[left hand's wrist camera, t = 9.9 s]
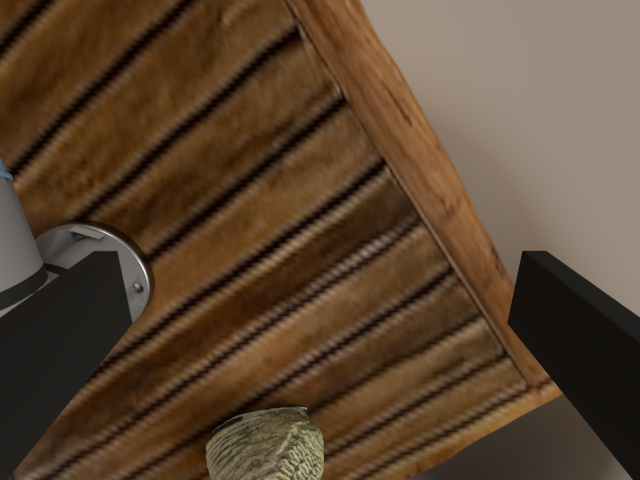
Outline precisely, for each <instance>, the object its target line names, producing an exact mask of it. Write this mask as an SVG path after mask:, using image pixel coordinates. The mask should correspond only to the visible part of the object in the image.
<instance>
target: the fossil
mask: <svg viewBox="0 0 640 480" xmlns="http://www.w3.org/2000/svg"><path fill="white" fill-rule="evenodd" d="M323 446H324V445H323V437H322V432H321V431H320V429H319V428H318V427H317V426H316V425H314V424H313V423H312V422H311V420H309V417H308V414H307V408H305V407H287V408H274V409H270V410H259V411H255V412H250V413H246V414H242V415H239V416H236V417H233V418H232V419H230V420H228V421H226V422H225V423H224V424H223V425H220V426H218V427H217V428H216V429H215V430H214V431H213V432H212V436H211V438H210V440H209V441H208V442H207V443H206V451H207V454H206V460H207V467H208V470H209V474H210V477H211V479H212V480H321V479H320V478H321V475H322V473H323V468H324V467H323V464H324V463H323V460H324V452H323Z"/></svg>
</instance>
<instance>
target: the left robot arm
mask: <svg viewBox="0 0 640 480" xmlns="http://www.w3.org/2000/svg"><path fill="white" fill-rule="evenodd" d="M12 181H13V177H12V175H11V174H10V173H8V172H7V171H6V169H5V167H4V164H3V162H2V160H1V158H0V480H14V477H13V474H12V473H13V472H14V470H15V469H16V468H17V467H18V466H19V464H20V463H21V462H22V461H23V459H24V458H25V457H26V456H27V454H28V453H29V452H30V451H31V449H32V448H33V447H34V446H35V444H36V443H37V442H38V441H39V439H40V438H41V437H42V436H43V434H44V433H45V432H46V431H47V429H48V428H49V427H50V426H51V424H52V423H53V422H54V421H55V419H56V418H57V417H58V416H59V414H60V413H61V412H62V411H63V409H64V408H65V407H66V406H67V405H68V403H69V402H70V401H71V400H72V398H73V397H74V396H75V395H76V393H77V392H78V391H79V390H80V388H81V387H82V386H83V385H84V383H85V382H86V381H87V380H88V378H89V377H90V376H91V375H92V373H93V372H94V371H95V370H96V368H97V367H98V366H99V365H100V363H101V362H102V361H103V360H104V358H105V357H106V356H107V355H108V353H109V352H110V351H111V350H112V348H113V347H114V346H115V345H116V343H117V342H118V341H119V340H120V339H121V337H122V336H123V335H124V334H125V332H126V331H127V330H128V329H129V327H130V326H131V325H132V324H133V323H134V322H135V321H136V320H137V319H138V318H139V317H140V316H141V315H142V313H143V312H144V311H145V310H146V308H147V307H148V305H149V304H150V302H151V300H152V297H153V293H154V275H153V271H152V268H151V265H150V263H149V261H148V259H147V257H146V256H145V254H144V253H143V251H142V250H141V249H140V247H139V246H138V245H137V244H136V243H135V242H134V241H133V240H132V239H130V238H129V237H128V236H126V235H125V234H124V233H122V232H120V231H119V230H117V229H115V228H113V227H111V226H108V225H106V224H102V223H99V222H94V221H85V220H79V221H70V222H66V223H63V224H60V225H58V226H56V227H54V228H52V229H50V230H48V231H46V232H44V233H43V234H41V235H40V236H39V237H38V238H36V239H34V237H33V234H32V232H31V229H30V227H29V224H28V222H27V219H26V217H25V214H24V211H23V209H22V206H21V204H20V201H19V199H18V196H17V194H16V191H15V188H14V186H13V183H12ZM507 324H508V325H509V326H510V327H511V329H512V330H513V331H514V332H515V334H516V335H517V336H518V337H519V339H520V340H521V341H522V342H523V344H524V345H525V346H526V347H527V348H528V350H529V351H530V352H531V353H532V355H533V356H534V357H535V358H536V360H537V361H538V362H539V363H540V365H541V366H542V367H543V368H544V370H545V371H546V372H547V373H548V375H549V376H550V377H551V378H552V380H553V381H554V382H555V383H556V385H557V386H558V387H559V388H560V390H561V391H562V392H563V393H564V395H565V396H566V397H567V398H568V400H569V401H570V402H571V403H572V405H573V406H574V407H575V408H576V409H577V411H578V412H579V413H580V414H581V416H582V417H583V418H584V419H585V421H586V422H587V423H588V424H589V426H590V427H591V428H592V429H593V431H594V432H595V433H596V434H597V436H598V437H599V438H600V439H601V441H602V442H603V443H604V444H605V446H606V447H607V448H608V449H609V451H610V452H611V453H612V454H613V456H614V457H615V458H616V459H617V461H618V462H619V463H620V464H621V466H622V467H623V468H624V469H625V470H626V472H627V473H628V474H629V475H630V477H631V478H632V479H633V480H640V317H638V316H637V315H636V314H634V313H633V312H631V311H630V310H629V309H627V308H626V307H624V306H623V305H621V304H620V303H619V302H617V301H616V300H615V299H613V298H612V297H610V296H609V295H607V294H606V293H605V292H603V291H602V290H600V289H599V288H598V287H596V286H595V285H593V284H592V283H591V282H589V281H588V280H586V279H585V278H584V277H582V276H581V275H579V274H578V273H576V272H575V271H574V270H572V269H571V268H570V267H568V266H567V265H565V264H564V263H562V262H561V261H560V260H558V259H557V258H555V257H554V256H553V255H551V254H550V253H548V252H547V251H522V256H521V260H520V265H519V270H518V275H517V280H516V284H515V289H514V294H513V299H512V303H511V308H510V313H509V318H508V322H507Z"/></svg>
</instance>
